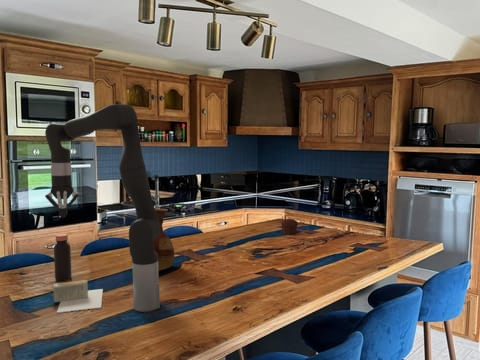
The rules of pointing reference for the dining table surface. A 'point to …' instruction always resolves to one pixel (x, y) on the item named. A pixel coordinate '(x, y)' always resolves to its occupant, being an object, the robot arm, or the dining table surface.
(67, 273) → the vinegar
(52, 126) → the robot arm
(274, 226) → the dining table surface
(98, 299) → the mat
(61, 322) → the dining table surface
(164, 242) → the brown vase
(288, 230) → the muffin
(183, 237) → the dining table surface
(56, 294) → the skincare box
